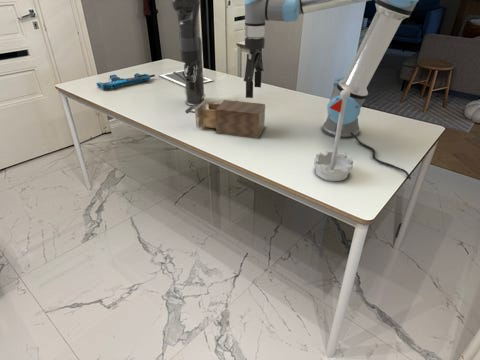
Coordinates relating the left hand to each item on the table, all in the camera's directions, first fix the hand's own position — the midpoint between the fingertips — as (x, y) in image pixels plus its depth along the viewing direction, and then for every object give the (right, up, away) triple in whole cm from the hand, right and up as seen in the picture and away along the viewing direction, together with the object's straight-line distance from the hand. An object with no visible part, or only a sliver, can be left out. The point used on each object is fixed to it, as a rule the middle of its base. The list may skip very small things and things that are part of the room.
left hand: (193, 90), depth 147 cm
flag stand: (+53, -36, -27) cm, 70 cm away
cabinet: (+21, -17, +4) cm, 27 cm away
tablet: (-14, +26, +69) cm, 75 cm away
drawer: (+8, -14, +6) cm, 17 cm away
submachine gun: (-51, +22, +63) cm, 84 cm away
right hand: (+26, -3, -7) cm, 27 cm away
